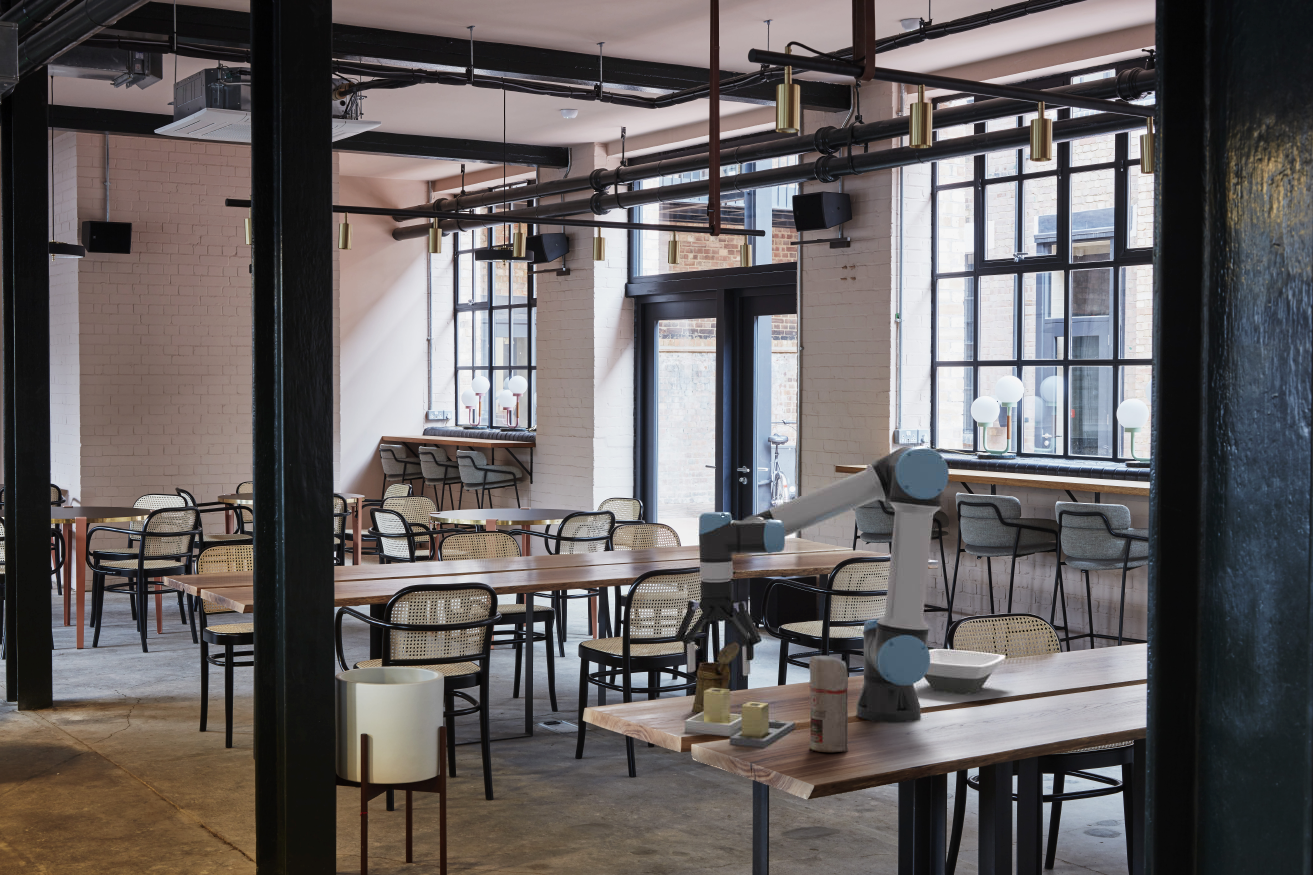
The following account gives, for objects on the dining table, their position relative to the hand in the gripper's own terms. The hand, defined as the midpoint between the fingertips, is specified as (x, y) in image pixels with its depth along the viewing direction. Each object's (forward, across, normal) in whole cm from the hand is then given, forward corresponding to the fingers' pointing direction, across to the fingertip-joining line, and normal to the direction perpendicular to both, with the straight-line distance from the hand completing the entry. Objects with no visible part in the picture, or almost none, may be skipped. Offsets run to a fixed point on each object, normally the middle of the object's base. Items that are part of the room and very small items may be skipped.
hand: (718, 672), depth 291 cm
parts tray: (+13, +1, 0) cm, 13 cm away
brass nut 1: (+12, +1, 0) cm, 12 cm away
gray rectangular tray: (+13, -11, +2) cm, 17 cm away
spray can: (+14, -28, +8) cm, 32 cm away
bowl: (+15, -39, -70) cm, 81 cm away
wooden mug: (+13, +8, -17) cm, 23 cm away
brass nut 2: (+13, -11, +7) cm, 19 cm away
